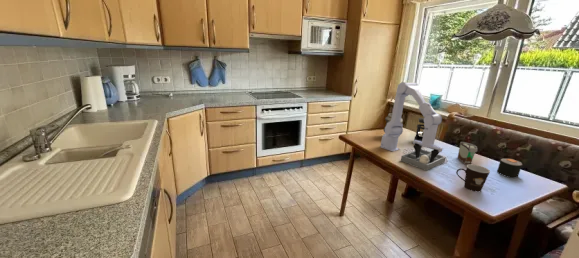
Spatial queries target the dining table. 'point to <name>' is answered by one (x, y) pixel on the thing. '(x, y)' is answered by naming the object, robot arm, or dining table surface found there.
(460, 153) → the food container
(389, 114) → the apothecary jar
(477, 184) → the coffee mug
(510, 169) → the sushi
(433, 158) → the robot arm
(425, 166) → the grey compartment tray
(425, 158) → the egg
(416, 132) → the french press
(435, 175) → the dining table surface
